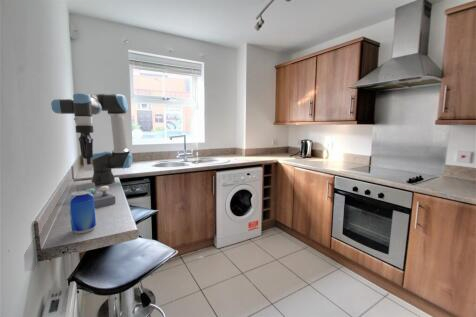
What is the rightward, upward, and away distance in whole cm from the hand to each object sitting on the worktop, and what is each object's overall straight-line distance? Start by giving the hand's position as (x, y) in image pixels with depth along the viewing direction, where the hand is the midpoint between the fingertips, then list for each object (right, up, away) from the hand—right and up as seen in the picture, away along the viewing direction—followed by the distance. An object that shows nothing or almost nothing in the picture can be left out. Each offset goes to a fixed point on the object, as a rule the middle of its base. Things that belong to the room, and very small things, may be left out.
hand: (88, 170), depth 121 cm
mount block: (+2, -19, +5) cm, 20 cm away
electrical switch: (-10, -18, +14) cm, 25 cm away
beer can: (+15, -24, -26) cm, 38 cm away
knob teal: (0, -15, +2) cm, 15 cm away
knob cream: (+4, -15, +8) cm, 17 cm away
